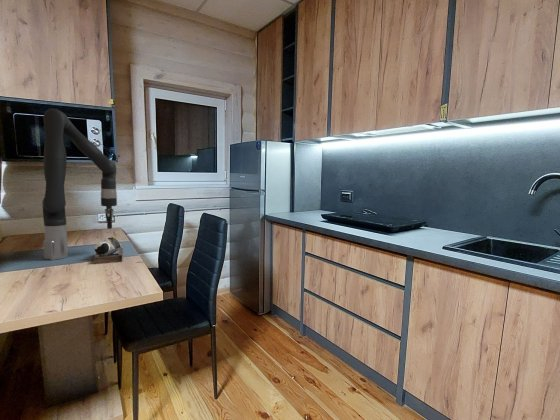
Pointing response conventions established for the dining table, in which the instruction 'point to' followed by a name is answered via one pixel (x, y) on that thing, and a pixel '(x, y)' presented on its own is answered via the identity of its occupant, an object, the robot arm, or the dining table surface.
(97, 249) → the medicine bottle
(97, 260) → the u rest
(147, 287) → the dining table surface
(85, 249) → the dining table surface
